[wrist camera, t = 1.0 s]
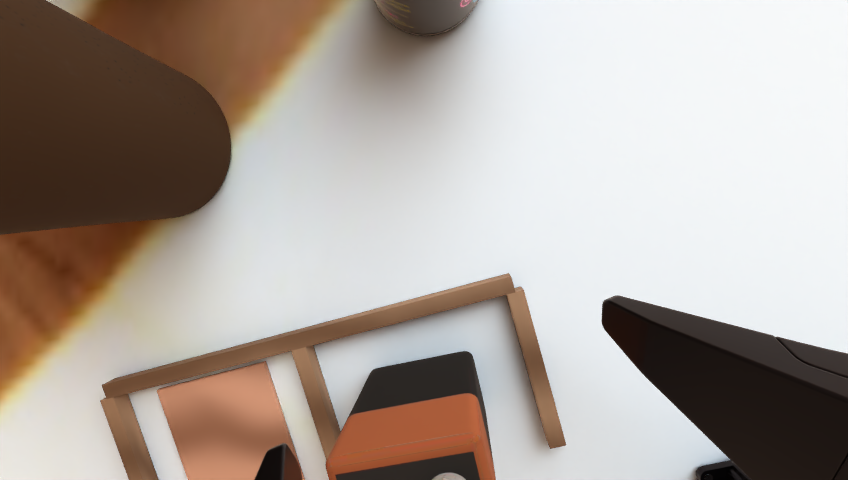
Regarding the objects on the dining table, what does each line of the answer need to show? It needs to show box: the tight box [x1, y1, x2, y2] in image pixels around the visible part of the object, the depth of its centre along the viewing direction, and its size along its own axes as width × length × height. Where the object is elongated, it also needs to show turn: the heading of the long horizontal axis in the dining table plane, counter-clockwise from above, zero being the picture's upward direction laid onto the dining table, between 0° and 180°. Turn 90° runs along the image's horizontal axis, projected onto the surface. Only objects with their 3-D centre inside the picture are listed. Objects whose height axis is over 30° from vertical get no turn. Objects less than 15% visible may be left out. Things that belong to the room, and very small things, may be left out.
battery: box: [326, 351, 496, 480], centre depth 19 cm, size 4×7×10 cm, turn 103°
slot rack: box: [101, 273, 566, 480], centre depth 24 cm, size 11×29×1 cm, turn 106°
